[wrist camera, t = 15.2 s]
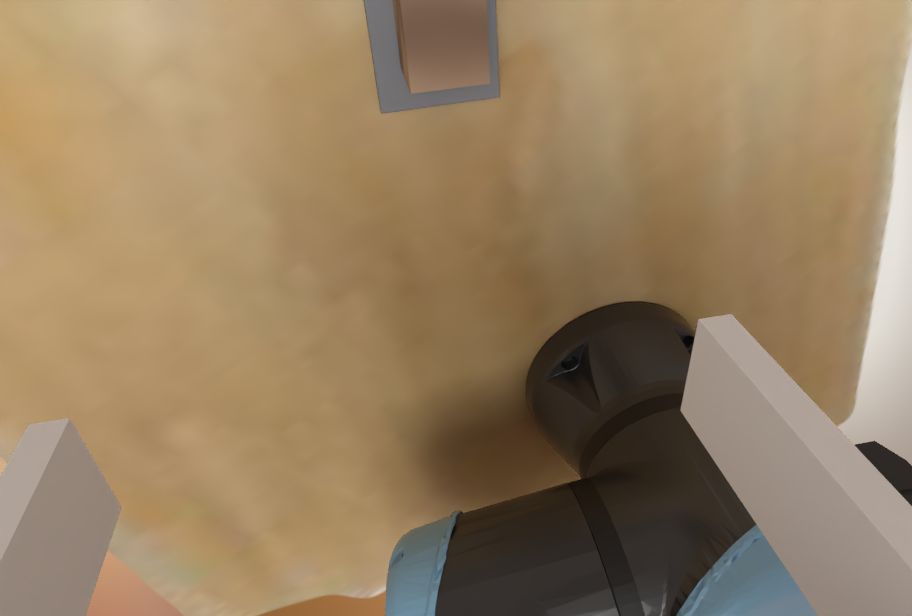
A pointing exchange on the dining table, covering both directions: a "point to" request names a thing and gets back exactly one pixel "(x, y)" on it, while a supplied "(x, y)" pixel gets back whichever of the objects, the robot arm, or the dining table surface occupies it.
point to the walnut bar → (442, 43)
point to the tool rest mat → (391, 77)
